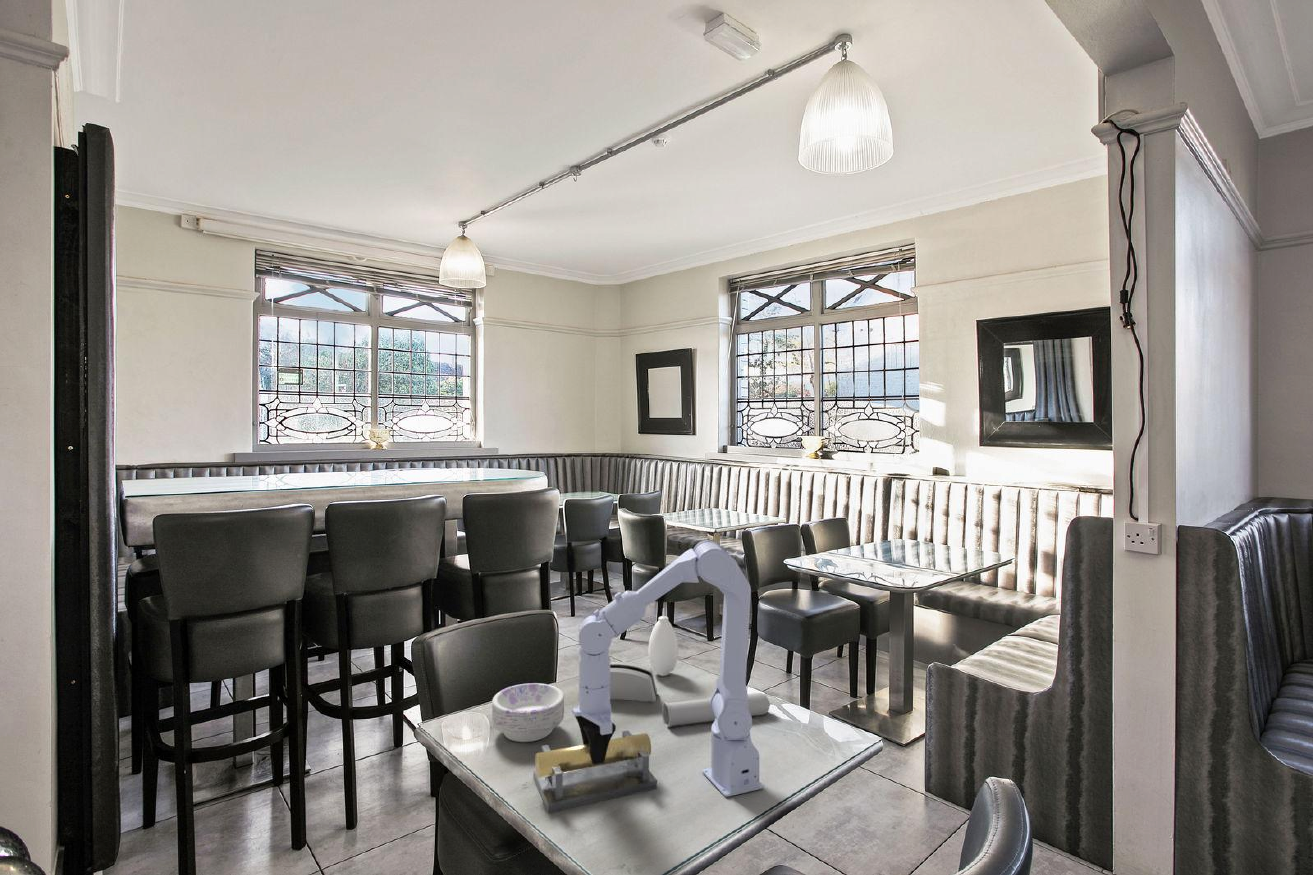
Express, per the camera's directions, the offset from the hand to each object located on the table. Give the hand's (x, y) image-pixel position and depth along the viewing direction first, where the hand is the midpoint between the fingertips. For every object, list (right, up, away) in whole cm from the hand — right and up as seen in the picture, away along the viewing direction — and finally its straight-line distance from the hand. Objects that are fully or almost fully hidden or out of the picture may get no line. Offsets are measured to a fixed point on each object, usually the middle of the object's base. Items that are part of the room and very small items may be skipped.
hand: (594, 756), depth 122 cm
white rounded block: (+3, -5, +39) cm, 40 cm away
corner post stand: (0, -5, 0) cm, 5 cm away
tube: (+25, -5, +28) cm, 38 cm away
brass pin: (0, -2, 0) cm, 2 cm away
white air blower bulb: (+13, -5, +54) cm, 56 cm away
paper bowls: (-16, -5, +20) cm, 26 cm away
